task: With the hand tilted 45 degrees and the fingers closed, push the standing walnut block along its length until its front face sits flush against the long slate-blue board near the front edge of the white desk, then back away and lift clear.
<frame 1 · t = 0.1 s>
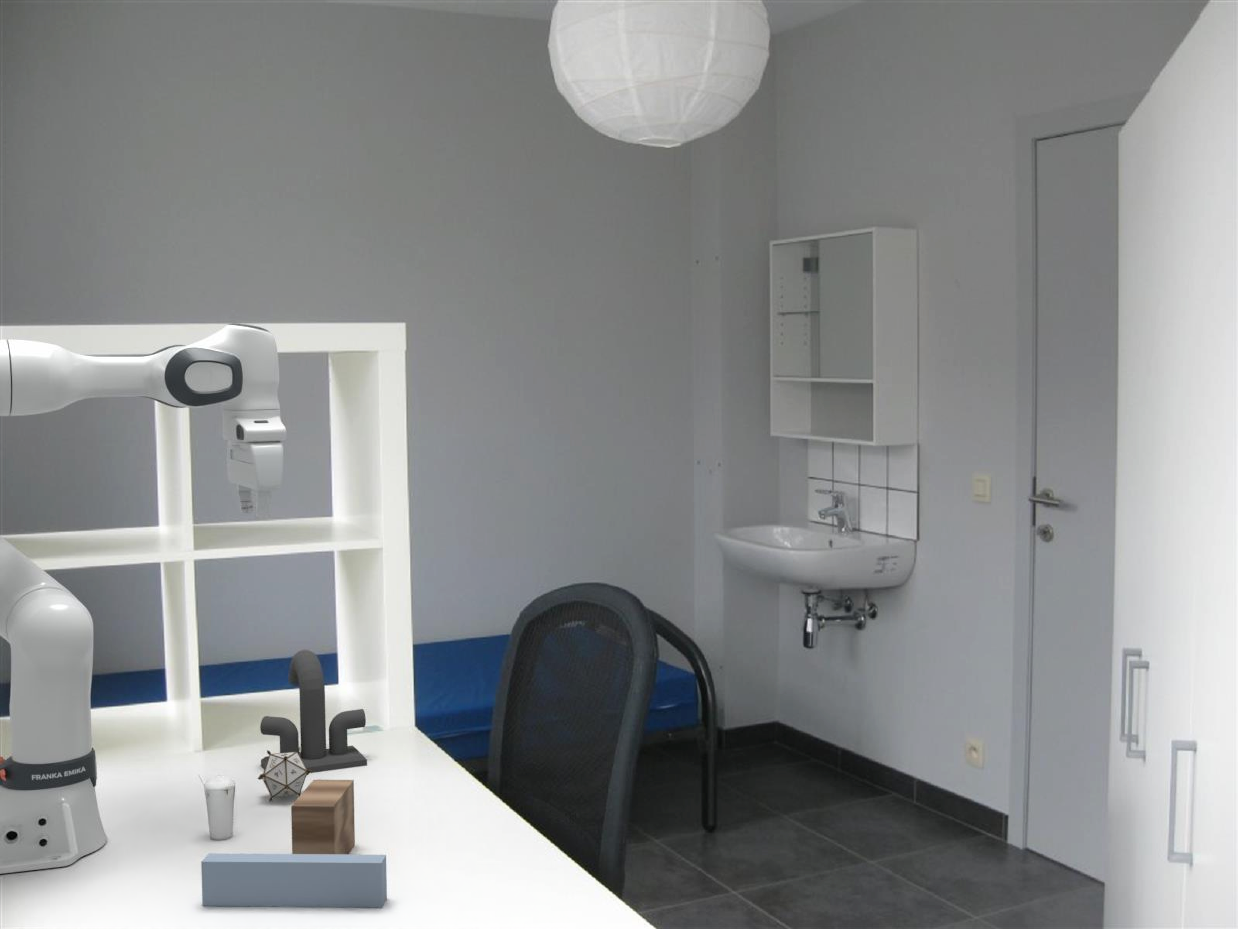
hand: (254, 515, 212), 48 cm above the table, tool pointing down, fingers open, 8 cm apart
faucet: (310, 761, 244), on the table
milkshake: (218, 838, 204), on the table
walnut block: (324, 860, 195), on the table
slate board: (295, 902, 179), on the table
game die: (285, 799, 223), on the table
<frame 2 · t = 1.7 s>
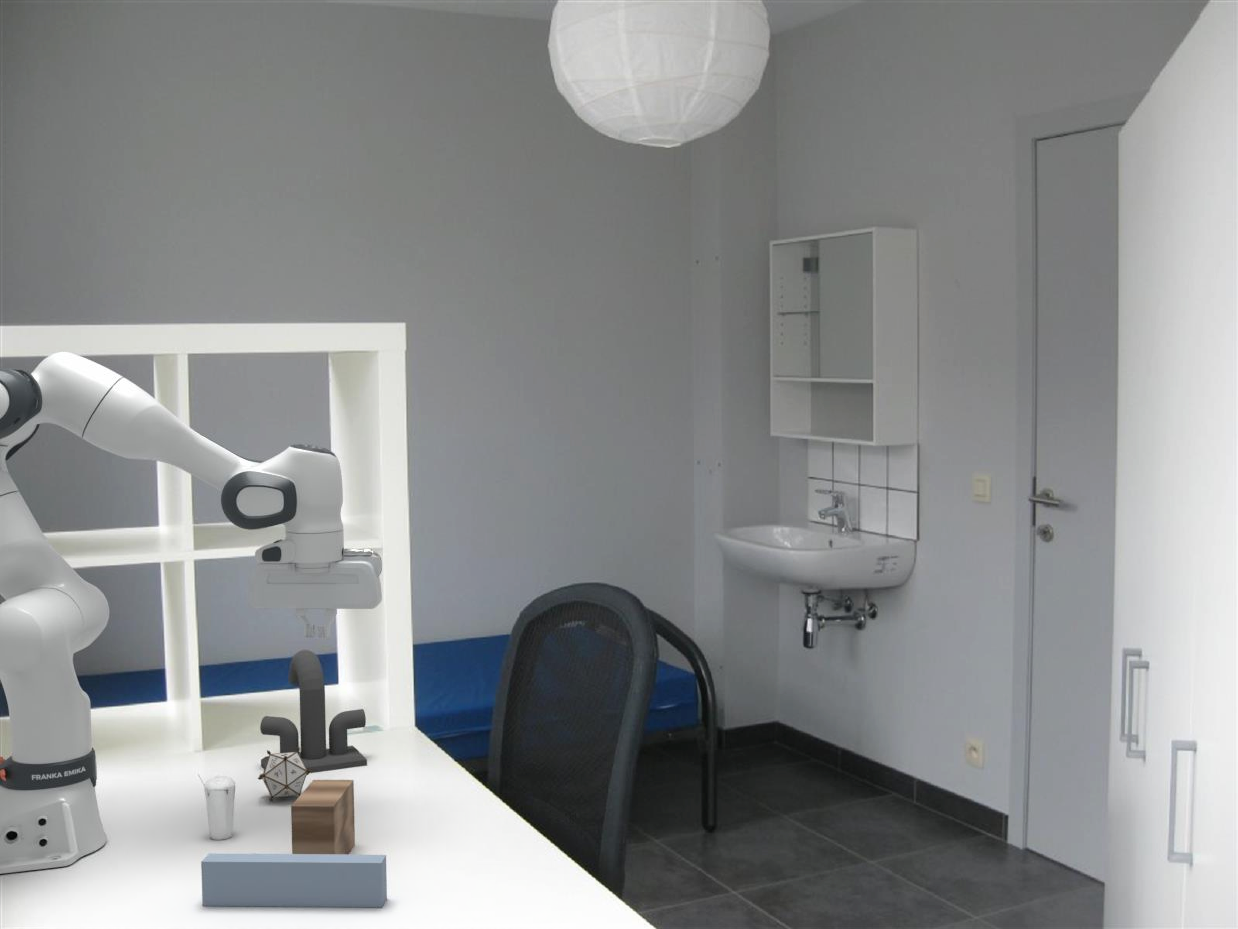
hand: (316, 636, 210), 29 cm above the table, tool pointing down, fingers closed
nothing on the table moved.
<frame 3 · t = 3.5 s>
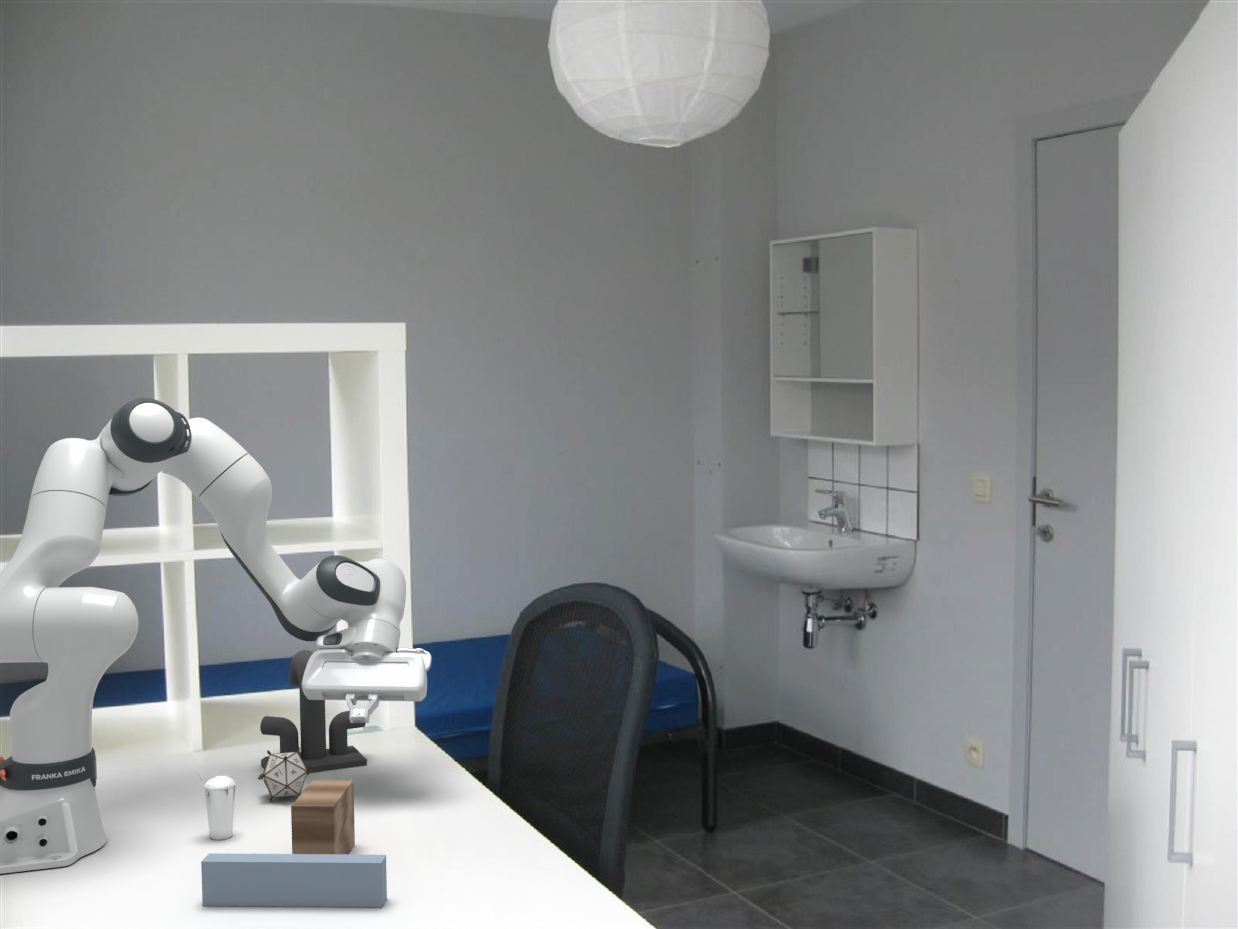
hand: (358, 721, 216), 14 cm above the table, tool tilted 45°, fingers closed
nothing on the table moved.
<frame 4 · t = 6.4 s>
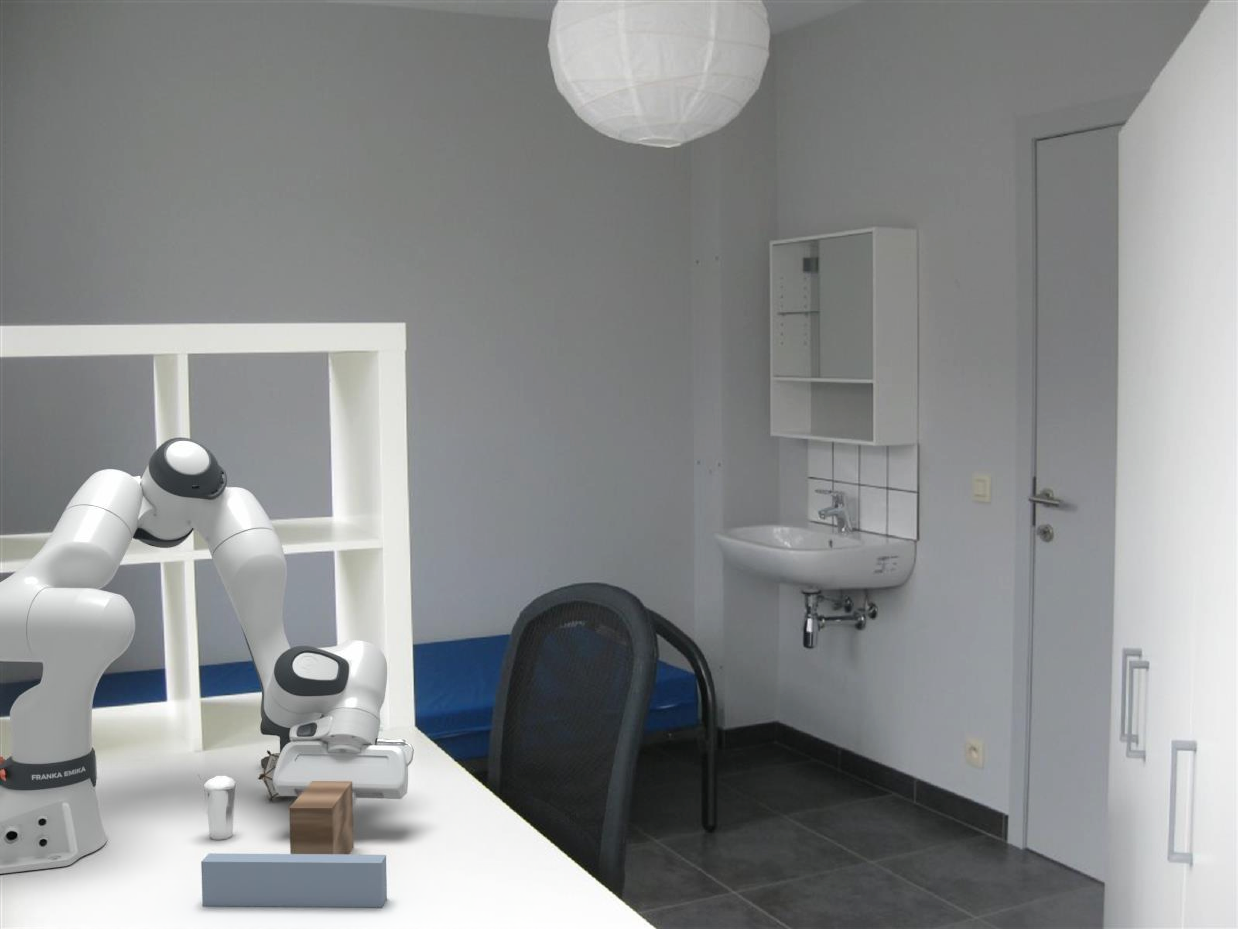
hand: (333, 822, 200), 4 cm above the table, tool tilted 45°, fingers closed, pressing on walnut block
walnut block: (323, 862, 194), on the table, touching gripper
everything else where it was.
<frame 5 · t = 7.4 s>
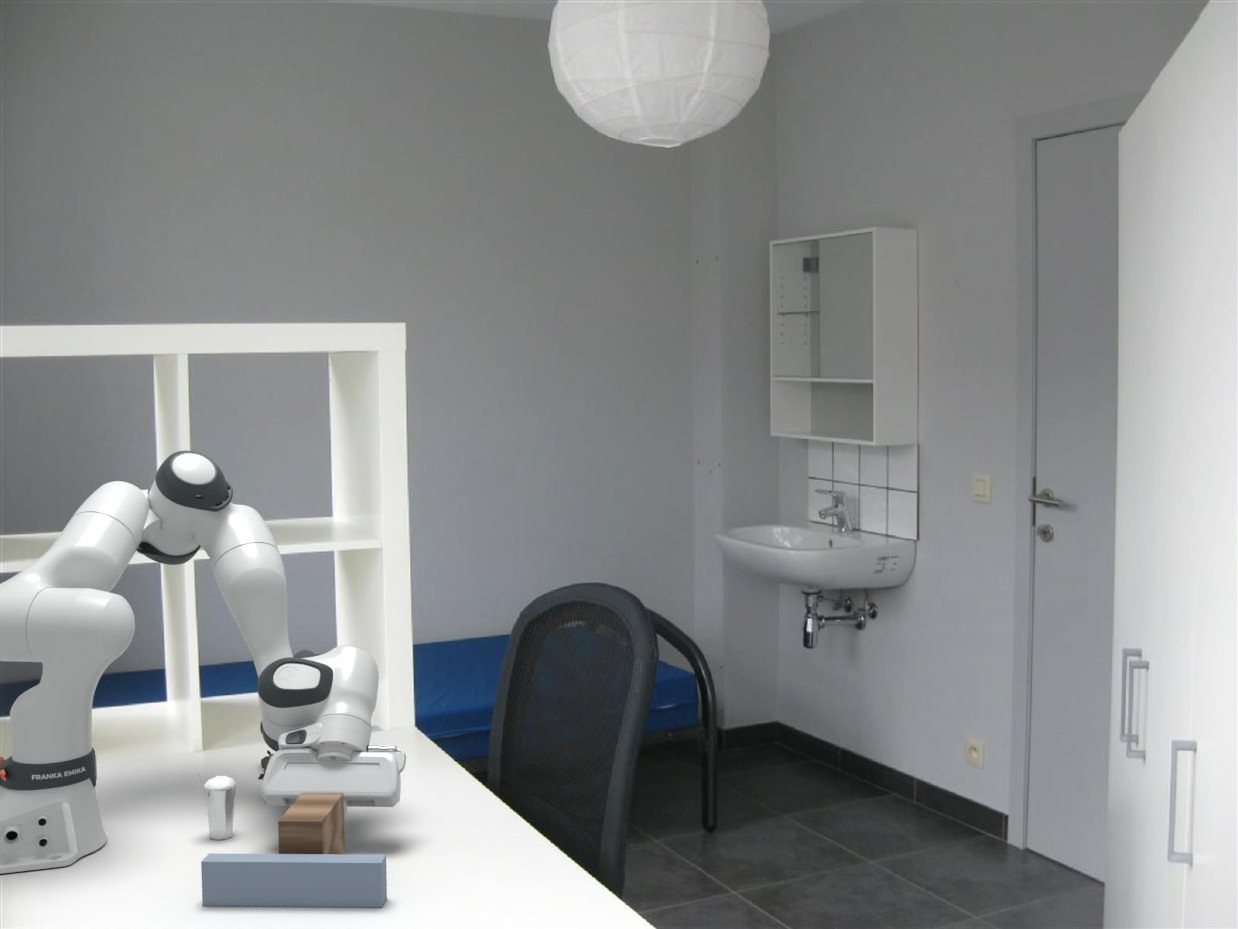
hand: (324, 831, 195), 4 cm above the table, tool tilted 45°, fingers closed, pressing on walnut block
walnut block: (313, 876, 188), on the table, touching gripper
everything else where it was.
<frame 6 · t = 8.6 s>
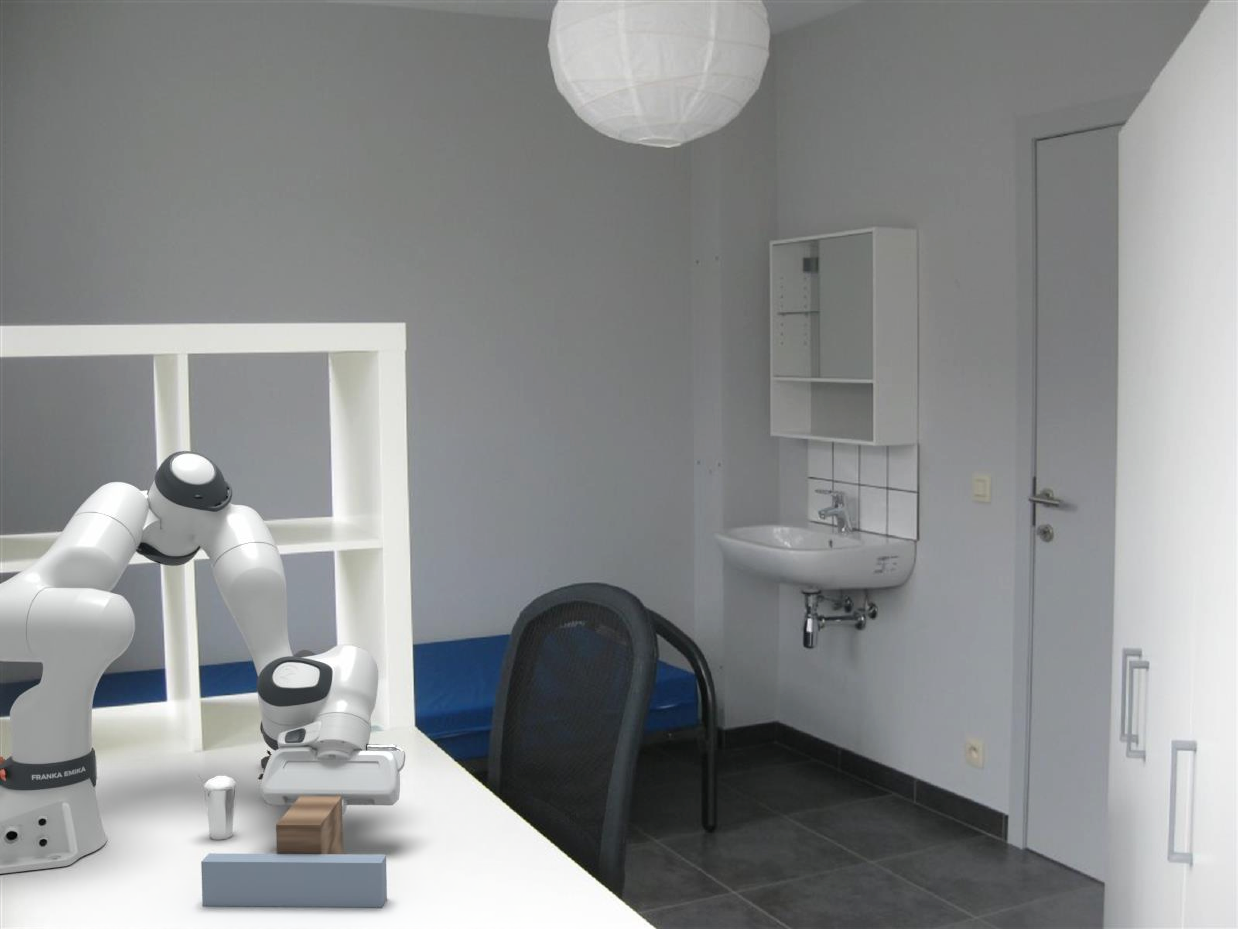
hand: (323, 830, 194), 4 cm above the table, tool tilted 45°, fingers closed
walnut block: (311, 880, 187), on the table
everything else where it was.
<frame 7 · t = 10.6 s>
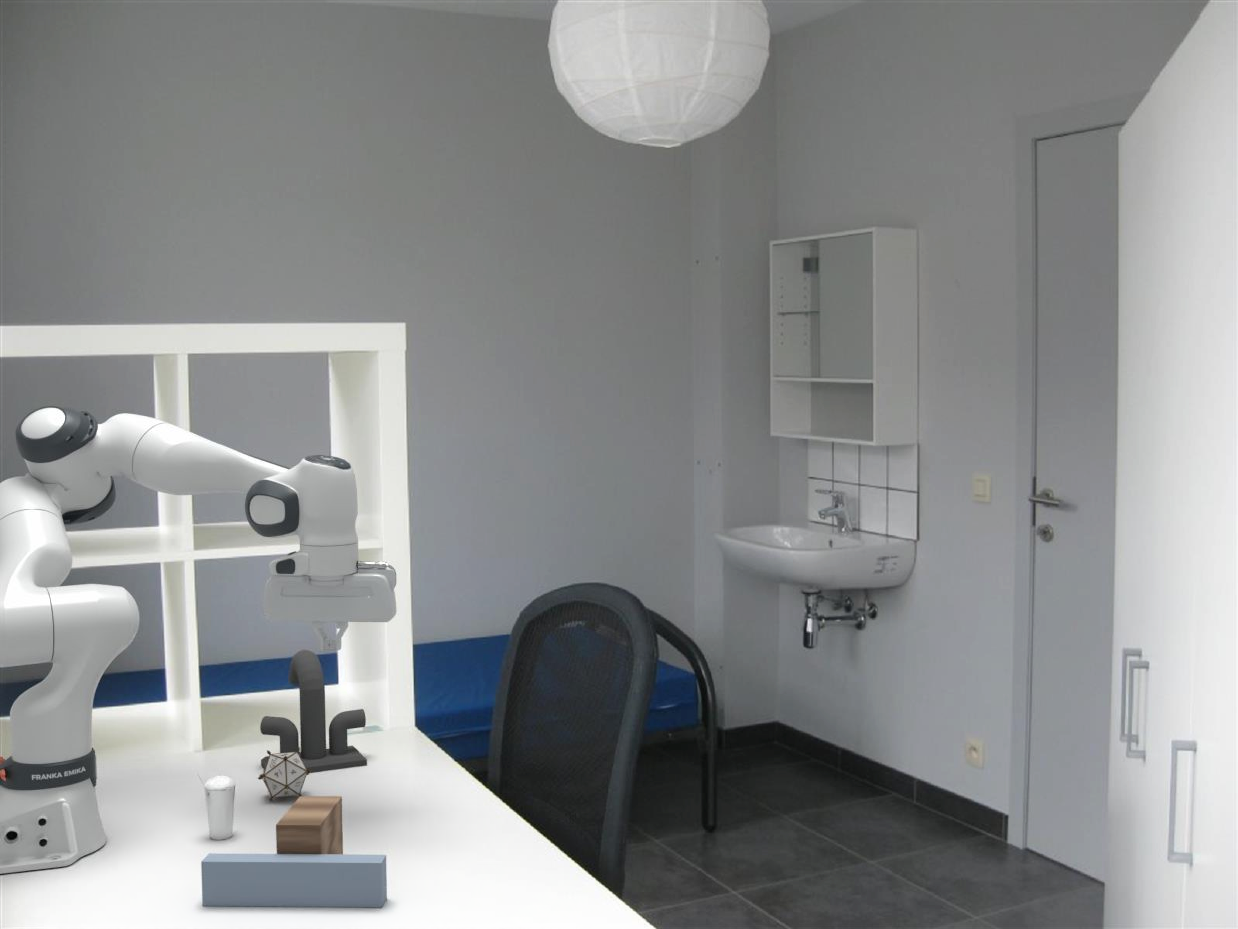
hand: (330, 649, 208), 27 cm above the table, tool pointing down, fingers closed
nothing on the table moved.
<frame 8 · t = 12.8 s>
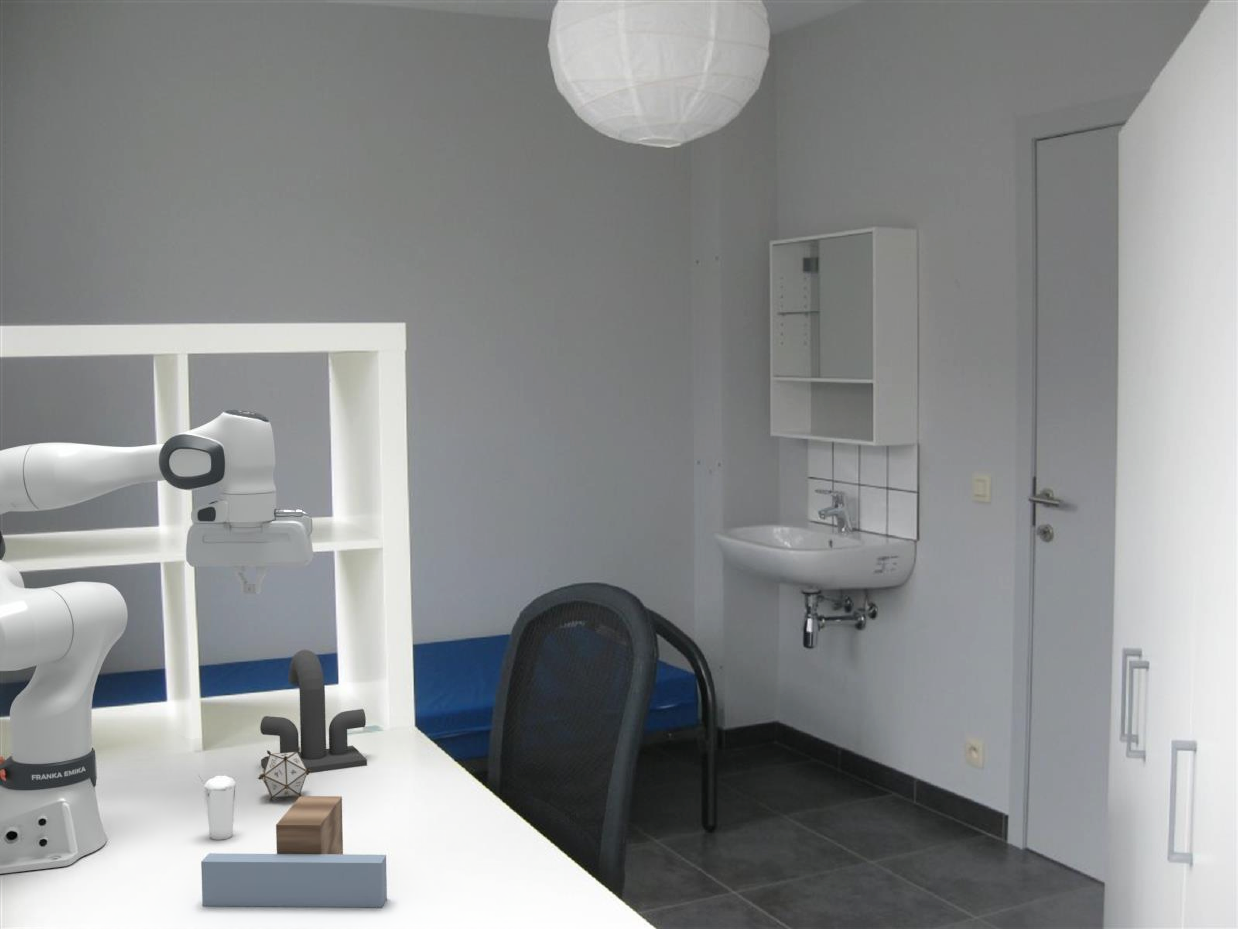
hand: (251, 593, 221), 34 cm above the table, tool pointing down, fingers closed
nothing on the table moved.
at the end: walnut block 0.2 cm from the target spot on the table beside the slate board, on the table; walnut block tilted 0°; the gripper is holding nothing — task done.
